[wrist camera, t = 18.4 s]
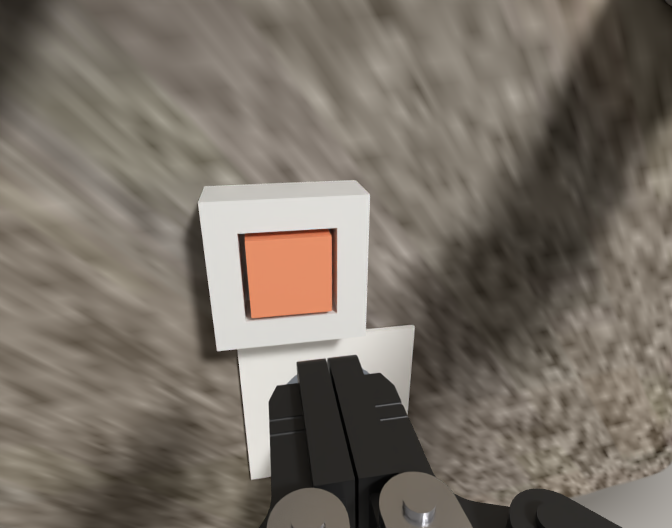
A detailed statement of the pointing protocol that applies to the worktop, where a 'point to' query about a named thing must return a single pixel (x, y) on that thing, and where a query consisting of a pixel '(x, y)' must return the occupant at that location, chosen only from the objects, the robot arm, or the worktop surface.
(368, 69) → the worktop surface
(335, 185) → the button housing
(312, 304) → the button
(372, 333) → the white flat square slab
